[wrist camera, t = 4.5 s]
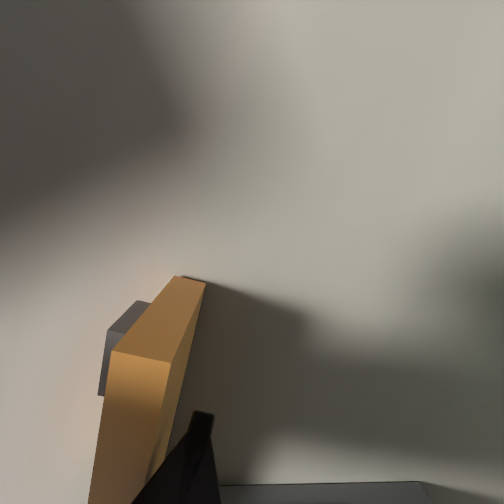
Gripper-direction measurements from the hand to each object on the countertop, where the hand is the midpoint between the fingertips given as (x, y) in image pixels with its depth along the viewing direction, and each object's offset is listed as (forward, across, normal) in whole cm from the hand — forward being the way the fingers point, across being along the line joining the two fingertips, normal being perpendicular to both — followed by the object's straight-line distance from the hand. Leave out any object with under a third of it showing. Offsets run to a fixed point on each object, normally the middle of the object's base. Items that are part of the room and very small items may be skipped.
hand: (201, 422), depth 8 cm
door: (+3, +2, +2) cm, 4 cm away
